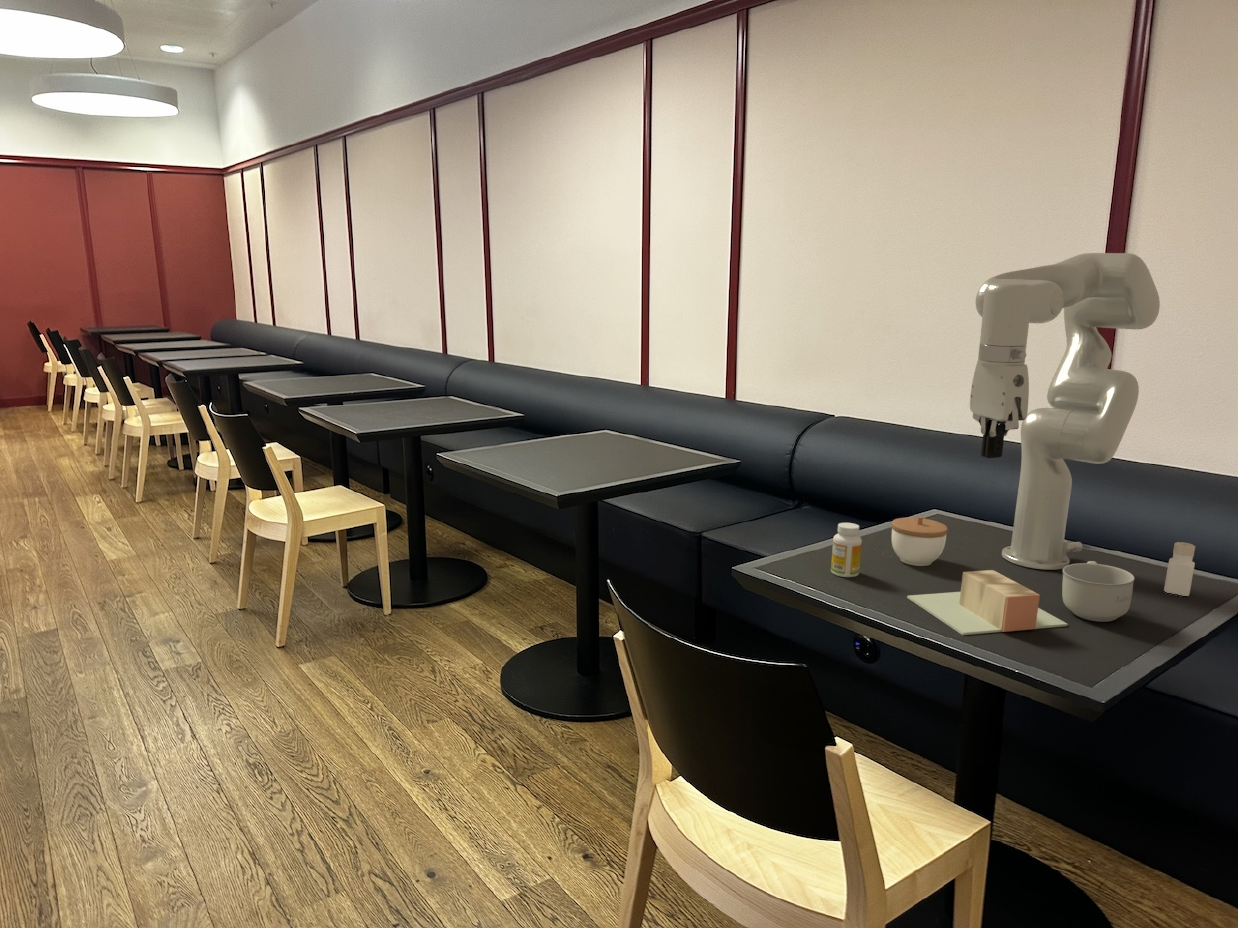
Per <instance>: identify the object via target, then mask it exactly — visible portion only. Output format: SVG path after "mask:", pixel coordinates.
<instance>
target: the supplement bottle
mask: <svg viewBox="0 0 1238 928" xmlns="http://www.w3.org/2000/svg"><path fill="white" fill-rule="evenodd" d="M859 534H860V525H859V524H856V523H852V522H839V523H838V524H837V533H836V534H835V535H834V536H833V539H832V550H831V551H832V552H831V562H830V565H831V566H830V572H831V574H833V575H834V576H837V577H840V578H854V577H858V576H859V574H860V570H861V569H860V567H861V559H862V558H861V557H862V546H863V545H862V544H863V541H862V538H861V537H860V536H859Z"/></svg>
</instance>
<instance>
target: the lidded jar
mask: <svg viewBox="0 0 1238 928" xmlns="http://www.w3.org/2000/svg"><path fill="white" fill-rule="evenodd" d="M948 531H949V529H948V527H947V525H946V524H944V523H941V522H939V521H937V520H932V519H930V518H929V519H928V518H924V517H923V516H921V515H920V516H917V517H899V518H895V519H893V520H892V521H891V546H892V548H893V551H894V553H895V554H896V556H897V557H898V558H899V560H900V562H902V563H905V564H906V565H911V566H917V567H926V566H931V565H932V563H933V562H935V561H936V560H937V559H938V558H939V557H940V556H941V555H942V553H943V551H944V549H945V546H946V541H947V534H948Z"/></svg>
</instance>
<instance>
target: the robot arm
mask: <svg viewBox="0 0 1238 928" xmlns="http://www.w3.org/2000/svg"><path fill="white" fill-rule="evenodd" d="M975 297H976V298H975V309H976V311H977V313H978V315H979V316H980V317H981V329H980V337H979V346H978V355H977V356H978V358H977V362H976V366H975V369H974V372H973V378H972V383H971V388H970V397H969V398H970V399H969V409H970V411H971V413H972V419H973V420H975V421H976V422H977V423H979V426H980V433H981V434H982V441H981V451H980V452H981V453H980V456H981V457H983V458H986V459H996V458H1002V457H1003V450H1004V440H1005V437H1006V436H1007V435H1008V432H1009V431H1010V430H1012V431H1013V430H1018V429H1019V427H1020V443H1021V445H1020V446H1021V462H1020V464H1021V465H1020V474H1019V483H1018V491H1017V497H1016V504H1015V506H1016V507H1015V513H1014V520H1013V521H1014V522H1013V529H1012V536H1011V545H1009V546H1005V547H1004V548H1002V550H1001V557H1002V558H1003V559H1005V560H1006V561H1008V562H1009V563H1011V564H1015V565H1018V566H1020V567H1025V568H1029V569H1030V568H1031V569H1037V570H1049V571H1053V570H1055V571H1056V570H1063V568H1064V567H1065V566H1068V565H1070V558H1069V556H1067V554H1069V553H1070V552H1081V551H1082V550H1083V544H1082V542H1081V541H1076V542H1075V541H1074V542H1073V541H1071V542H1069V541H1068V540H1066V539H1065V535H1066V526H1067V522H1068V521H1067V519H1068V513H1069V508H1070V507H1069V506H1070V501H1071V500H1070V499H1071V493H1072V487H1073V479H1072V475H1071V472H1070V469H1069V466H1068V465H1067V464H1066V462H1065V460H1069V461H1076V462H1082V463H1089V464H1096V465H1097V464H1098V465H1099V464H1101V465H1102V464H1105V463H1108V462H1109V461H1111V460H1112V458H1113V457H1114V456H1115V454H1116V452H1117V450H1118V448H1119V446H1120V444H1121V442H1122V439H1123V437H1124V435H1125V433H1126V430H1127V428H1128V425H1129V423H1130V421H1131V419H1132V417H1133V414H1134V412H1135V409H1136V406H1137V403H1138V399H1139V393H1140V389H1139V388H1140V387H1139V386H1140V385H1139V383H1138V380H1137V377H1135V376H1134V374H1132V373H1131V372H1128V371H1126V370H1121V369H1120V370H1119V369H1109V365H1110V363H1111V360H1112V356H1113V355H1112V351H1111V348H1110V347H1109V344H1108V343H1107V341H1106V340H1105V338H1104V337H1103V336H1102V335H1101V334H1100V332H1099V331H1098V328H1102V329H1103V328H1105V329H1120V330H1121V329H1124V330H1143V329H1147V328H1149V327H1150V326H1152V325H1153V324H1154V323H1155V322H1156V319H1157V318H1158V316H1159V313H1160V307H1161V303H1160V295H1159V291H1158V290H1157V287H1156V285H1155V282H1154V280H1153V277H1152V274H1151V272H1150V269H1149V267H1148V266H1147V264H1146V263H1145V261H1144V260H1143V259H1142V258H1141V257H1140V256H1139V255H1137V254H1135V253H1132V252H1131V253H1127V252H1119V253H1117V252H1114V253H1113V252H1087V253H1080V254H1077V255H1074V256H1072V257H1070V258H1067V259H1064V260H1062V261H1059V262H1056V263H1054V264H1047V265H1040V266H1035V267H1030V268H1026V269H1019V270H1012V271H1007V272H1003V273H1000V274H997V275H995V276H992V277H990V278H988V279H986V280H985V281H984V282H983V283H982V284H981V286H980V287H979V289H978V291H977V292H976V296H975ZM1062 310H1063V319H1064V329H1065V338H1066V349H1065V351H1064V354H1063V356H1062V358H1061V360H1060V363H1059V364H1058V367H1057V368H1056V371H1055V372H1054V374H1053V376H1052V379H1051V382H1050V384H1049V387H1048V389H1047V395H1046V399H1047V403H1048V404H1049V405H1050V407H1039V408H1035V409H1032V410H1030V411H1028V410H1029V397H1030V396H1029V395H1030V394H1029V392H1030V390H1029V389H1030V382H1029V381H1030V380H1029V379H1030V378H1029V370H1028V369H1029V367H1028V365H1027V364H1025V362H1026V357H1027V348H1028V347H1027V344H1028V337H1029V326H1030V325H1029V324H1045V323H1050V322H1052V321H1053V320H1055V319H1056V318H1057V317H1058V316H1059V315H1060V313H1061V312H1062ZM1020 421H1021V425H1020Z"/></svg>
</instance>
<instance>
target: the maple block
mask: <svg viewBox="0 0 1238 928" xmlns="http://www.w3.org/2000/svg"><path fill="white" fill-rule="evenodd" d="M960 592H961V594H960V602H959V604H960V605H961V606H963V607H965V608H966V609H968V610H969V611H971V612H973V613H974V614H976V615H978V616H979V617H981V618H982V619H984V620H986V621H987V622H989V623H990V624H992V625H994V626H995V627H997V628H998V629H1000V630H1002V631H1003V632H1002V633H1004V632H1005V633H1006V632H1015V631H1016V632H1017V631H1027V630H1029V631H1030V630H1036V629H1035V627H1036V620H1037V613H1038V608H1039V605H1040V596H1041V594H1039V593H1037V592H1035V591H1033V590H1032V589H1030V588H1028V587H1026V586H1025V585H1022V584H1020V583H1018V582H1017V581H1015V580H1014V579H1013V580H1012V579H1011V578H1009V577H1008V576H1007V577H1006V576H1005V575H1003V574H1001V573H999V572H997V571H996V570H994V569H987V570H974V571H962V578H961V587H960Z"/></svg>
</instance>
